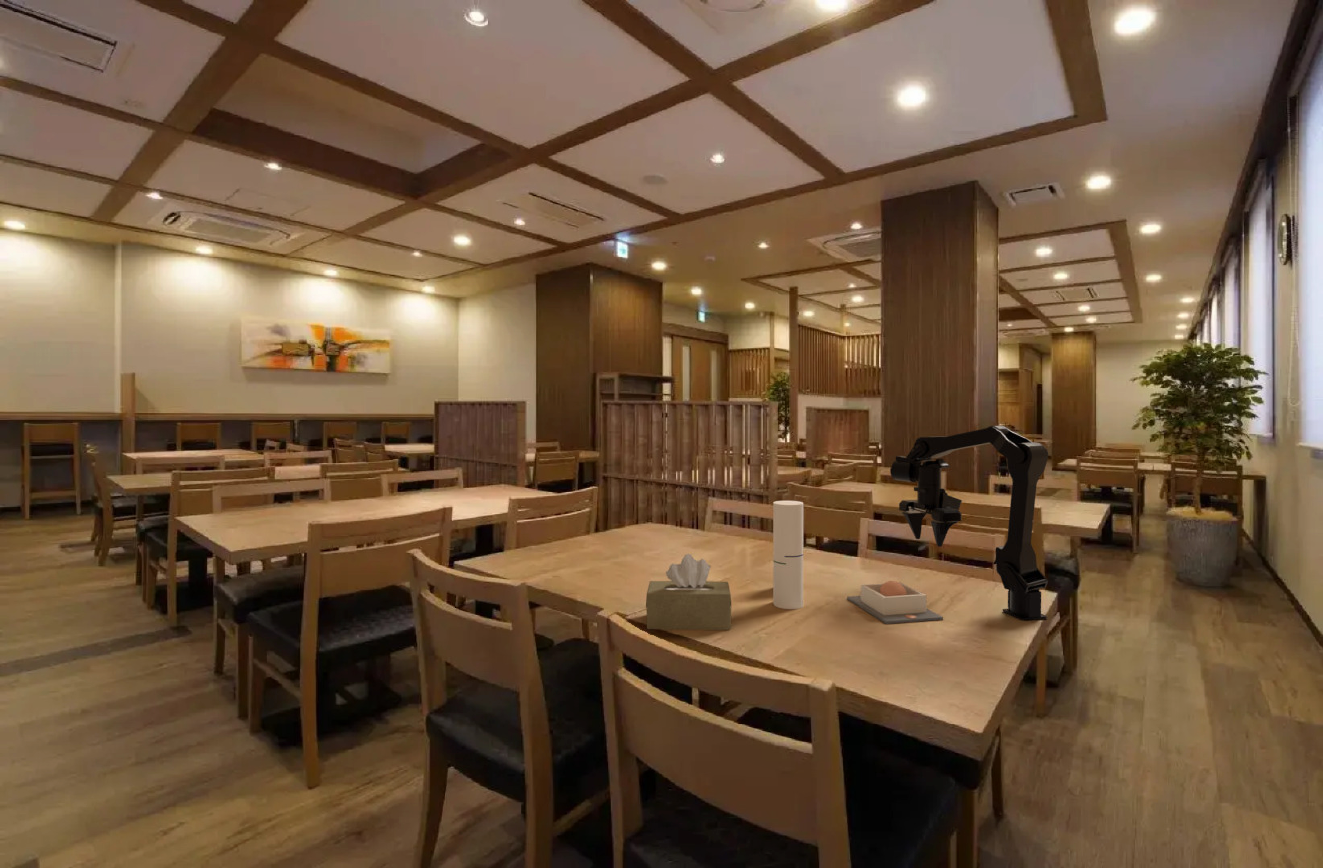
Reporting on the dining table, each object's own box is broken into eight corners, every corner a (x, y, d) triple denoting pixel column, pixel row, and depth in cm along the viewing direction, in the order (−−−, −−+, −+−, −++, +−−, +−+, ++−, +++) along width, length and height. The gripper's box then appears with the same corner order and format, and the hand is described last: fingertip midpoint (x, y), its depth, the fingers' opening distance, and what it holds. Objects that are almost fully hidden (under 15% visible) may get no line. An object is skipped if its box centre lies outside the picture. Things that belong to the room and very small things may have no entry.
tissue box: (645, 629, 132) (644, 558, 131) (648, 614, 142) (648, 547, 141) (732, 630, 131) (731, 558, 130) (729, 615, 141) (729, 548, 140)
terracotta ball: (911, 610, 141) (912, 585, 141) (887, 611, 140) (888, 586, 140) (897, 601, 147) (897, 577, 147) (874, 602, 146) (874, 578, 146)
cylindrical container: (803, 610, 144) (803, 505, 143) (773, 608, 145) (773, 504, 144) (802, 600, 150) (802, 500, 150) (773, 599, 152) (773, 500, 151)
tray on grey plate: (943, 619, 136) (943, 599, 136) (885, 623, 134) (886, 603, 134) (898, 595, 154) (898, 577, 154) (847, 599, 152) (847, 580, 151)
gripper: (981, 487, 152) (980, 549, 153) (934, 479, 170) (933, 534, 171) (941, 488, 150) (940, 551, 150) (898, 480, 168) (897, 535, 169)
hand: (928, 542), depth 160 cm, fingers open, 9 cm apart
